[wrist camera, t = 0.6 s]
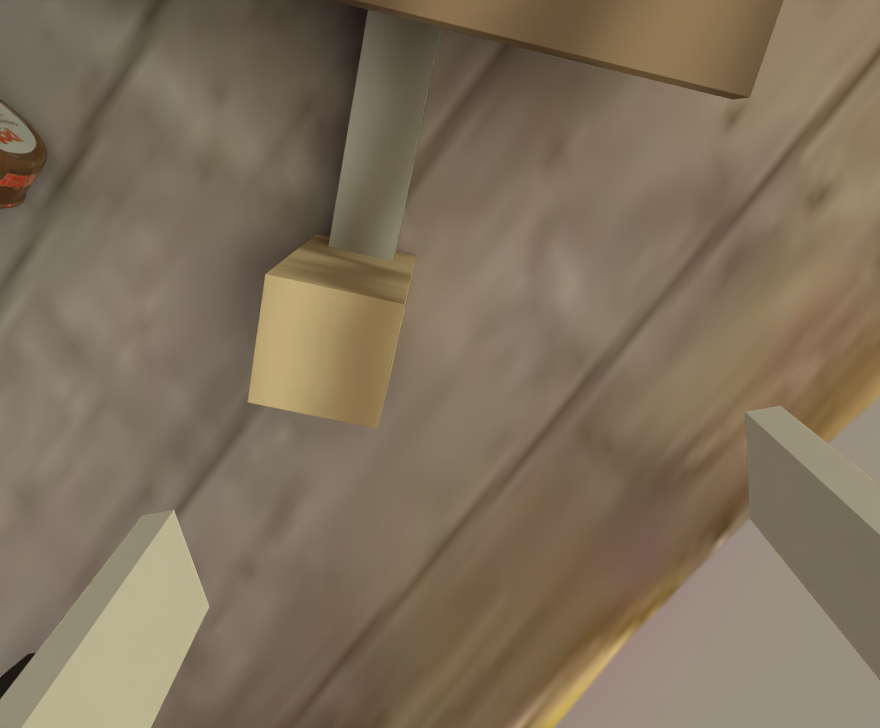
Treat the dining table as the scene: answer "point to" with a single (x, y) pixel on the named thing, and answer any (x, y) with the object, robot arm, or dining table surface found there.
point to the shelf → (619, 34)
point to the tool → (352, 248)
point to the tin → (17, 157)
